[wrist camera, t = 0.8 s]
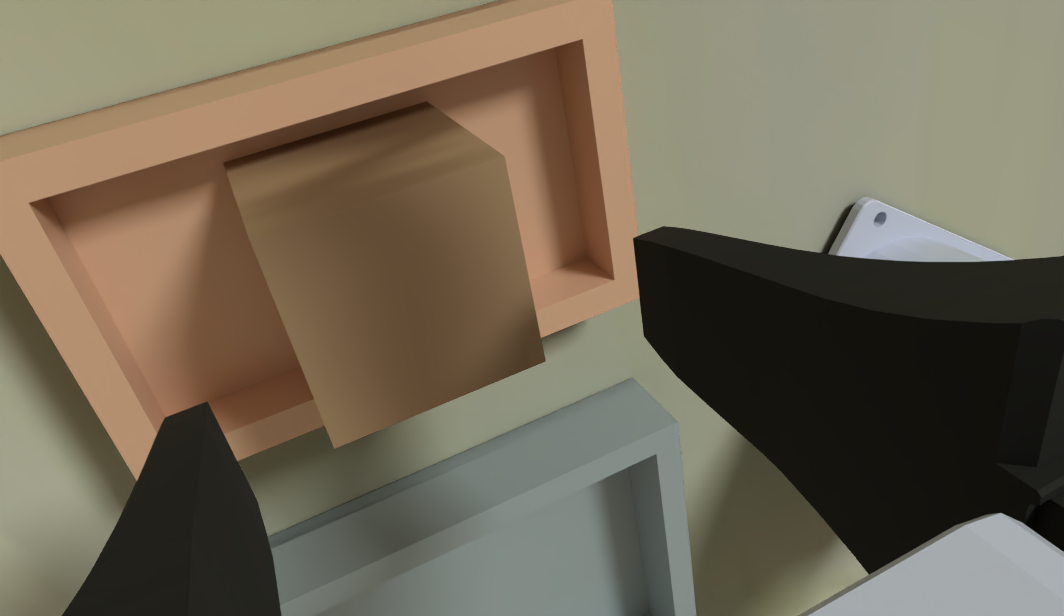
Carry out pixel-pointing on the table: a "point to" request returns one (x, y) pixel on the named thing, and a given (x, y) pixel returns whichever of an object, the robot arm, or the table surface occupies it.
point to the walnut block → (391, 264)
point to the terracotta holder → (219, 232)
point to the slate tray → (512, 526)
